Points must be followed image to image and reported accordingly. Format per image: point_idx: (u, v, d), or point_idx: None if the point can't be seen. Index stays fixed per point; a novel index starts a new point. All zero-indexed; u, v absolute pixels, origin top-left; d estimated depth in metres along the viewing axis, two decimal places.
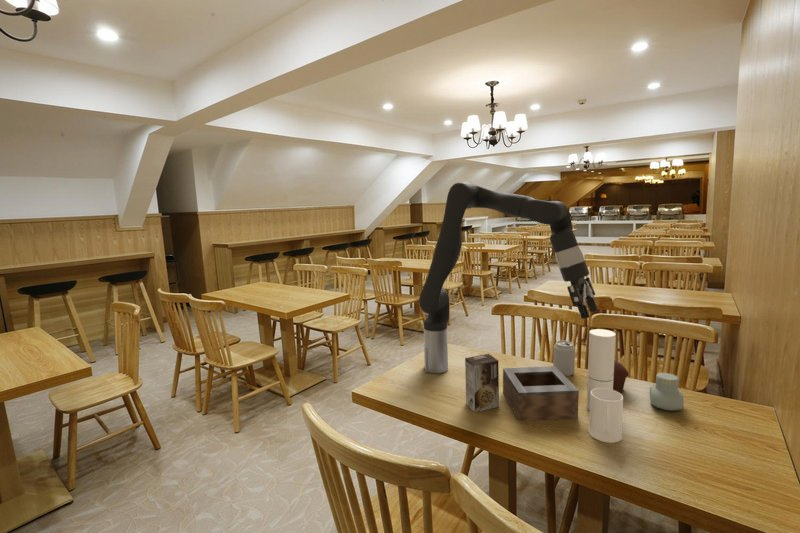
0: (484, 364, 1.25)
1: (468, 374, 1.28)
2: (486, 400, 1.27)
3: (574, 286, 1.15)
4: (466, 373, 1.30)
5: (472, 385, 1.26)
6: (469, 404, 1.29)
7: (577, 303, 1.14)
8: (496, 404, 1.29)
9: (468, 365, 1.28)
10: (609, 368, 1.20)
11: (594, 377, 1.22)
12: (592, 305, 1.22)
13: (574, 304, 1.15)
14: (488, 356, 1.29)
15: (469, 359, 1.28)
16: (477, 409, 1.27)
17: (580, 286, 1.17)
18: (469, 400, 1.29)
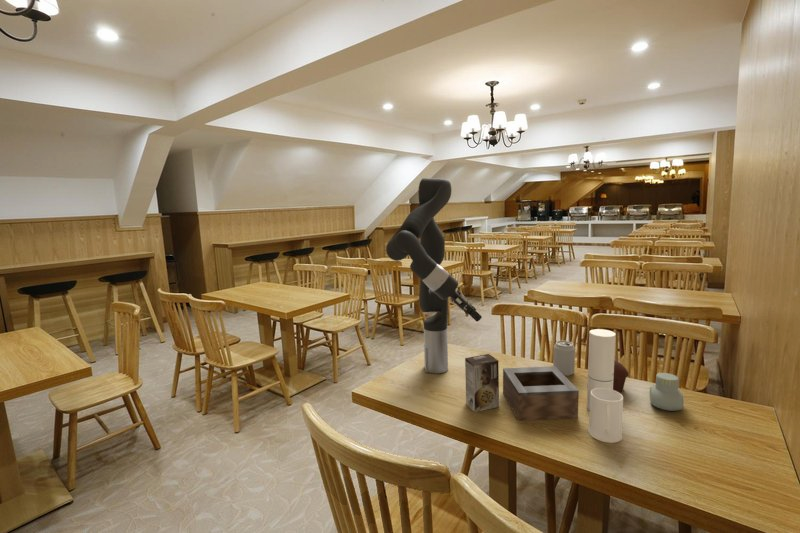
0: (484, 364, 1.25)
1: (468, 374, 1.28)
2: (486, 400, 1.27)
3: None
4: (466, 373, 1.30)
5: (472, 385, 1.26)
6: (469, 404, 1.29)
7: None
8: (496, 404, 1.29)
9: (468, 365, 1.28)
10: (609, 368, 1.20)
11: (594, 377, 1.22)
12: None
13: None
14: (488, 356, 1.29)
15: (469, 359, 1.28)
16: (477, 409, 1.27)
17: None
18: (469, 400, 1.29)
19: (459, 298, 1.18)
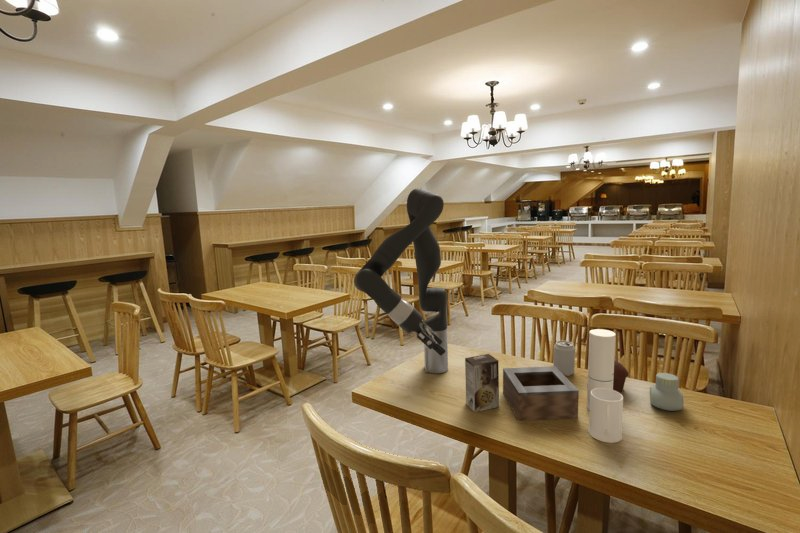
0: (484, 364, 1.25)
1: (468, 374, 1.28)
2: (486, 400, 1.27)
3: None
4: (466, 373, 1.30)
5: (472, 385, 1.26)
6: (469, 404, 1.29)
7: None
8: (496, 404, 1.29)
9: (468, 365, 1.28)
10: (609, 368, 1.20)
11: (594, 377, 1.22)
12: None
13: None
14: (488, 356, 1.29)
15: (469, 359, 1.28)
16: (477, 409, 1.27)
17: None
18: (469, 400, 1.29)
19: (421, 333, 1.20)
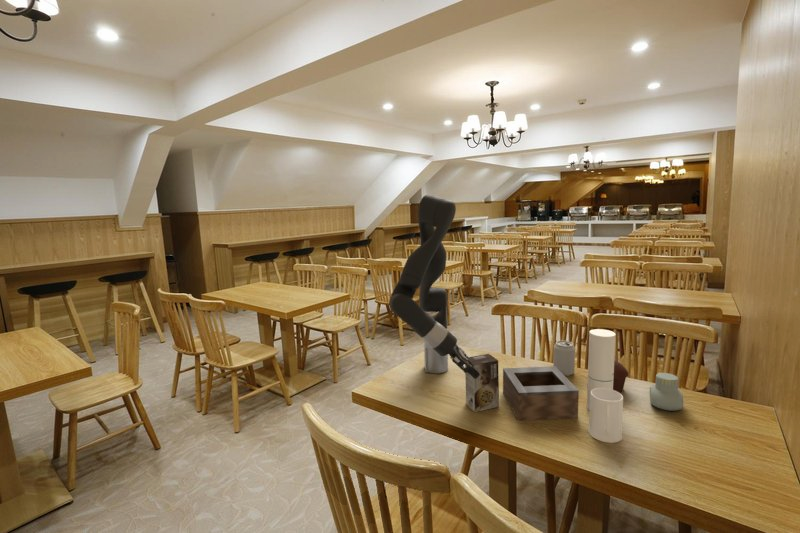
0: (484, 364, 1.25)
1: (468, 374, 1.28)
2: (486, 400, 1.27)
3: None
4: (466, 373, 1.30)
5: (472, 385, 1.26)
6: (469, 404, 1.29)
7: None
8: (496, 403, 1.29)
9: None
10: (609, 368, 1.20)
11: (594, 377, 1.22)
12: None
13: None
14: (488, 356, 1.30)
15: (469, 359, 1.28)
16: (477, 409, 1.27)
17: None
18: (469, 400, 1.29)
19: (457, 357, 1.21)
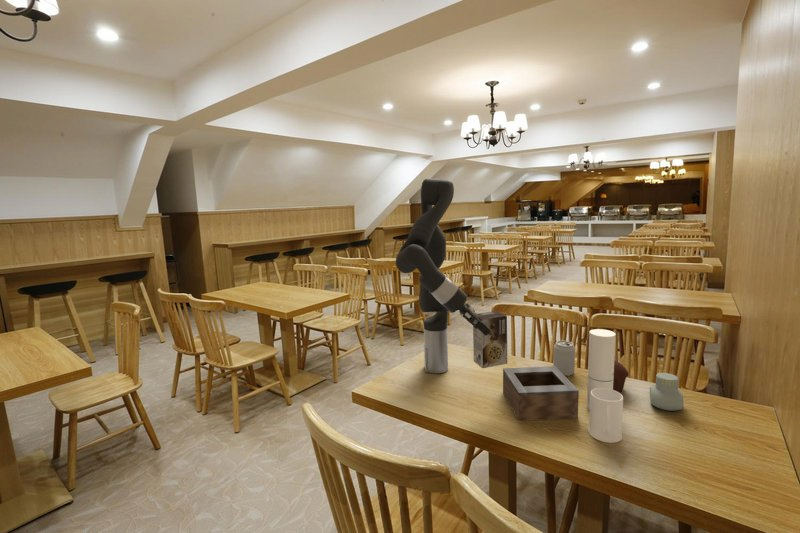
0: (493, 319, 1.23)
1: (476, 330, 1.26)
2: (494, 356, 1.25)
3: None
4: (474, 330, 1.28)
5: (481, 340, 1.24)
6: (477, 361, 1.27)
7: None
8: (504, 360, 1.26)
9: (476, 320, 1.26)
10: (609, 368, 1.20)
11: (594, 377, 1.22)
12: None
13: None
14: (496, 313, 1.27)
15: None
16: (485, 365, 1.25)
17: None
18: (477, 357, 1.27)
19: (468, 313, 1.19)
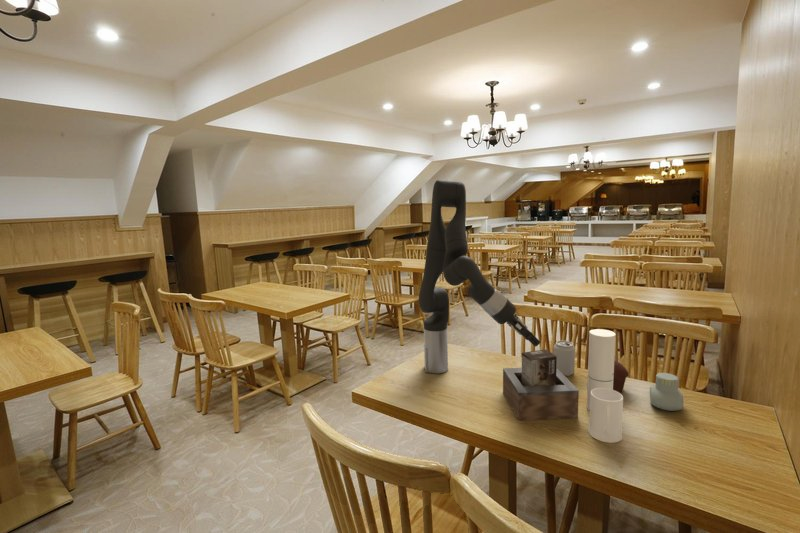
0: (542, 359, 1.24)
1: (525, 369, 1.28)
2: None
3: None
4: (522, 368, 1.30)
5: (529, 379, 1.26)
6: None
7: None
8: None
9: (525, 359, 1.27)
10: (609, 368, 1.20)
11: (594, 377, 1.22)
12: None
13: None
14: (546, 352, 1.29)
15: (526, 354, 1.28)
16: None
17: None
18: None
19: (518, 324, 1.19)
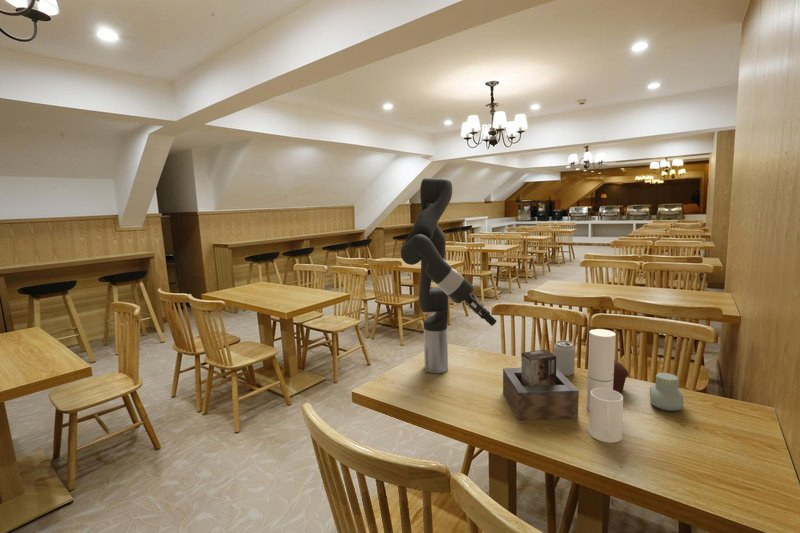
0: (542, 359, 1.25)
1: (525, 369, 1.28)
2: None
3: None
4: (522, 368, 1.30)
5: (529, 379, 1.26)
6: None
7: None
8: None
9: (525, 359, 1.27)
10: (609, 368, 1.20)
11: (594, 377, 1.22)
12: None
13: None
14: (546, 352, 1.29)
15: (526, 354, 1.28)
16: None
17: None
18: None
19: (474, 303, 1.18)
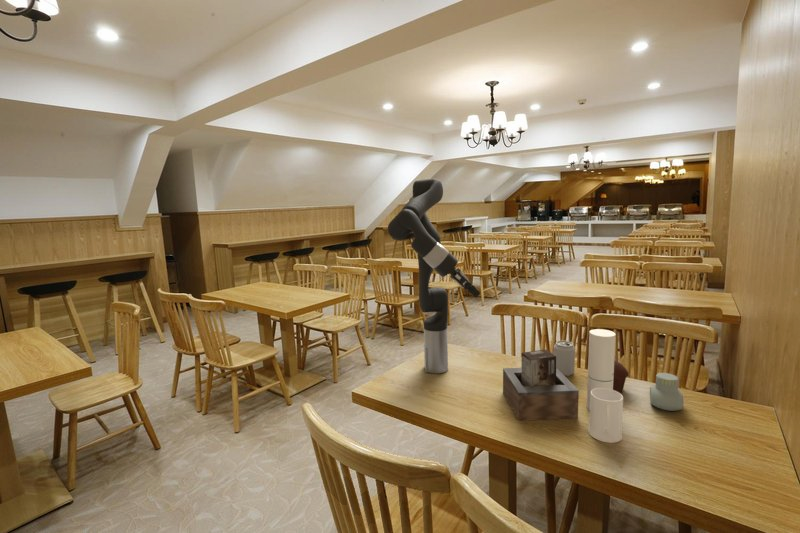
0: (542, 359, 1.25)
1: (525, 369, 1.28)
2: None
3: None
4: (522, 368, 1.30)
5: (529, 379, 1.26)
6: None
7: None
8: None
9: (525, 359, 1.27)
10: (609, 368, 1.20)
11: (594, 377, 1.22)
12: None
13: None
14: (546, 352, 1.29)
15: (526, 354, 1.28)
16: None
17: None
18: None
19: (458, 274, 1.23)
